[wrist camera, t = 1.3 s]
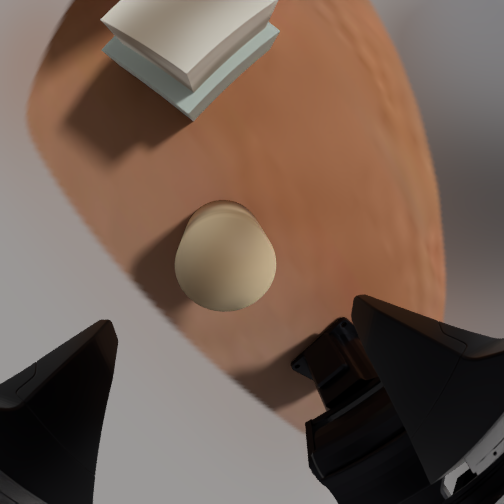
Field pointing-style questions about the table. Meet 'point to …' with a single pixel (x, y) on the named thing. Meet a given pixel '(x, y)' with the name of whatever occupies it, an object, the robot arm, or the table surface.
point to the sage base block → (178, 92)
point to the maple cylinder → (224, 257)
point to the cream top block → (188, 32)
